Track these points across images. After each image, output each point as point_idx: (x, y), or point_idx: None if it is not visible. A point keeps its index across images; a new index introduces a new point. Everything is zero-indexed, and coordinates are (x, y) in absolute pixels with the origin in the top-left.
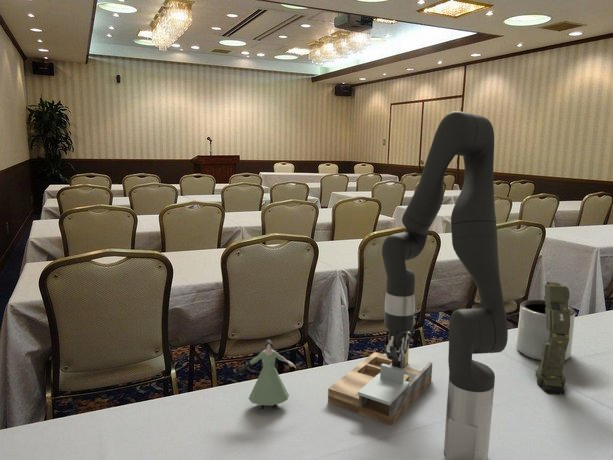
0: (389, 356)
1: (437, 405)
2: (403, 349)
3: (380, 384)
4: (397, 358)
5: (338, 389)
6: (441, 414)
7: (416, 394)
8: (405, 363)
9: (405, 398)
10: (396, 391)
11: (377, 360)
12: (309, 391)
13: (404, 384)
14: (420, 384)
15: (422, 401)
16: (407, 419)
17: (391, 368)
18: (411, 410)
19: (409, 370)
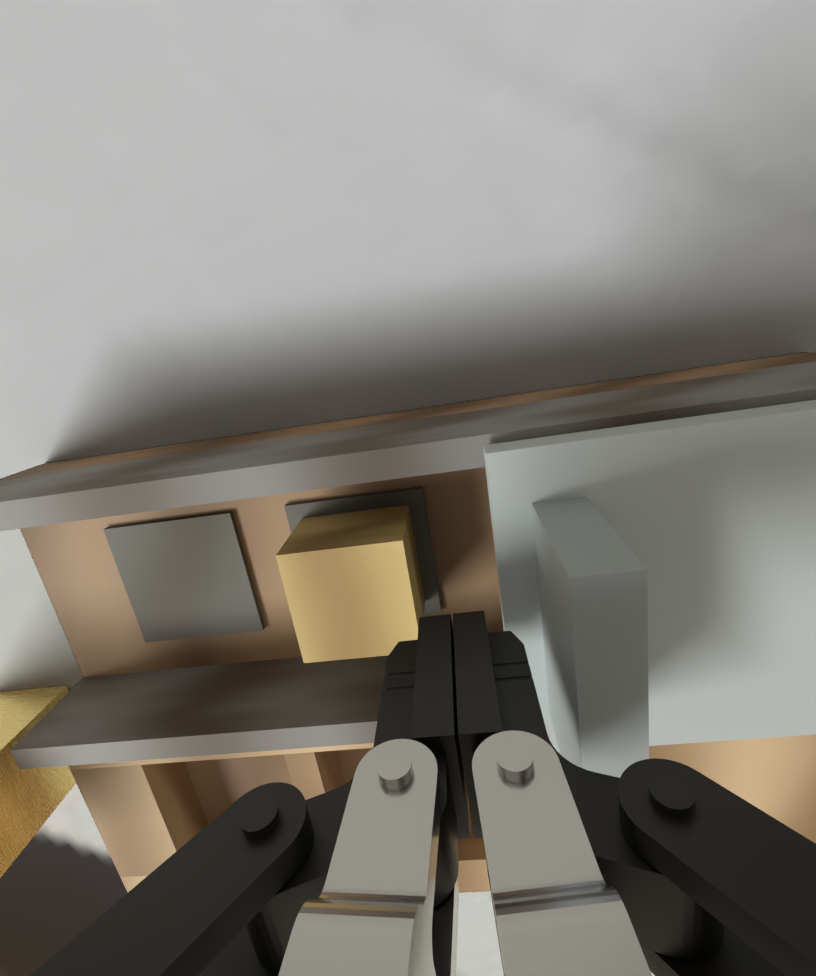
0: (744, 948)
1: (310, 234)
2: (418, 949)
3: (734, 644)
4: (683, 815)
5: (812, 827)
6: (408, 128)
7: (326, 426)
8: (16, 697)
9: (576, 404)
10: (792, 449)
11: (193, 836)
12: None
13: (573, 469)
14: (232, 449)
15: (344, 358)
16: (654, 306)
17: (644, 715)
18: (517, 352)
19: (100, 627)
